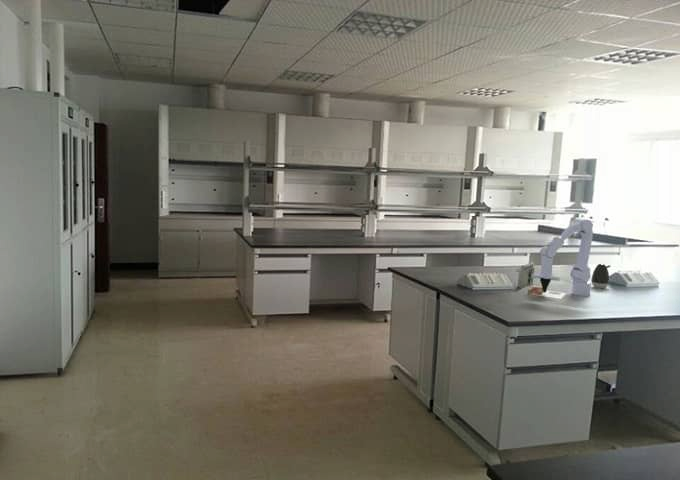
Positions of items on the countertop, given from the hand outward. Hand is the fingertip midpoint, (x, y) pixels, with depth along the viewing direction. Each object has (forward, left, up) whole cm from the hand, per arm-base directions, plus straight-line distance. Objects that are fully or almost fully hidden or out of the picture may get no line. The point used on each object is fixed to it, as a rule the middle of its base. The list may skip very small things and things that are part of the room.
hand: (544, 292), depth 295 cm
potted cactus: (-22, -55, -3) cm, 60 cm away
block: (+4, 0, -1) cm, 4 cm away
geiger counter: (+17, -30, -3) cm, 34 cm away
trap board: (0, -4, -3) cm, 5 cm away
